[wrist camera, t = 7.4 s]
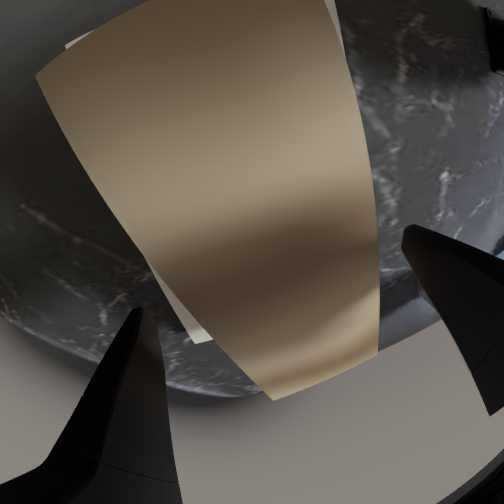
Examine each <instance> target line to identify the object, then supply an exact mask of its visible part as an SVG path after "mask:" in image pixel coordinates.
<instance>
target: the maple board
mask: <svg viewBox="0 0 504 504" xmlns="http://www.w3.org/2000/svg"><path fill="white" fill-rule="evenodd" d="M35 77H36V79H37V81H38V83H39V86H40V88H41V90H42V92H43V94H44V96H45V98H46V100H47V102H48V104H49V106H50V108H51V110H52V112H53V114H54V116H55V118H56V120H57V122H58V124H59V126H60V127H61V129H62V131H63V133H64V135H65V137H66V138H67V140H68V142H69V144H70V145H71V147H72V149H73V151H74V152H75V154H76V156H77V157H78V159H79V161H80V162H81V164H82V166H83V167H84V169H85V171H86V172H87V174H88V176H89V177H90V179H91V180H92V182H93V183H94V185H95V187H96V188H97V190H98V191H99V193H100V194H101V196H102V197H103V199H104V200H105V202H106V203H107V205H108V206H109V208H110V209H111V211H112V212H113V214H114V215H115V217H116V218H117V219H118V221H119V222H120V224H121V225H122V227H123V228H124V229H125V231H126V232H127V234H128V235H129V236H130V238H131V239H132V241H133V242H134V243H135V245H136V246H137V247H138V249H139V250H140V251H141V253H142V254H143V255H144V257H145V258H146V259H147V261H148V262H149V263H150V265H151V266H152V267H153V268H154V270H155V271H156V272H157V273H158V275H159V276H160V277H161V279H162V280H163V281H164V282H165V284H166V285H167V286H168V287H169V288H170V290H171V291H172V292H173V293H174V295H175V296H176V297H177V298H178V299H179V301H180V302H181V303H182V304H183V305H184V307H185V308H186V309H187V310H188V311H189V312H190V314H191V315H192V316H193V317H194V318H195V319H196V321H197V322H198V323H199V324H200V325H201V326H202V327H203V328H204V330H205V331H206V332H207V333H208V334H209V335H210V336H211V337H212V339H213V340H214V341H215V342H216V343H217V344H218V345H219V346H220V347H221V348H222V349H223V350H224V352H225V353H226V354H227V355H228V356H229V357H230V358H231V359H232V360H233V361H234V362H235V363H236V364H237V365H238V366H239V367H240V368H241V369H242V370H243V371H244V372H245V373H246V374H247V375H248V376H249V377H250V378H251V379H252V380H253V381H254V382H255V383H256V384H257V385H258V386H259V387H260V388H261V389H262V390H263V391H264V392H265V393H266V394H267V395H268V396H269V397H270V398H271V399H272V400H273V401H274V400H277V399H279V398H282V397H285V396H288V395H290V394H293V393H295V392H298V391H300V390H303V389H305V388H308V387H310V386H313V385H315V384H317V383H320V382H322V381H324V380H327V379H329V378H331V377H333V376H335V375H338V374H340V373H342V372H344V371H346V370H348V369H350V368H352V367H354V366H356V365H358V364H360V363H362V362H364V361H366V360H368V359H370V358H372V357H374V356H376V355H377V352H378V336H379V309H380V276H379V248H378V232H377V220H376V209H375V200H374V191H373V183H372V176H371V169H370V163H369V156H368V150H367V145H366V139H365V134H364V129H363V124H362V120H361V115H360V111H359V106H358V102H357V98H356V94H355V90H354V86H353V83H352V79H351V75H350V72H349V68H348V65H347V62H346V59H345V55H344V52H343V49H342V46H341V43H340V40H339V37H338V34H337V32H336V29H335V26H334V23H333V21H332V18H331V16H330V13H329V11H328V8H327V6H326V3H325V1H324V0H149V1H147V2H144V3H142V4H140V5H138V6H136V7H134V8H132V9H130V10H128V11H126V12H124V13H123V14H121V15H119V16H117V17H115V18H114V19H112V20H110V21H108V22H107V23H105V24H103V25H102V26H100V27H98V28H97V29H95V30H94V31H92V32H91V33H89V34H88V35H86V36H85V37H83V38H82V39H80V40H79V41H77V42H76V43H74V44H73V45H72V46H70V47H69V48H68V49H66V50H65V51H64V52H62V53H61V54H60V55H58V56H57V57H56V58H55V59H53V60H52V61H51V62H50V63H49V64H47V65H46V66H45V67H44V68H43V69H41V70H40V71H39V72H38V73H37V74H36V75H35Z"/></svg>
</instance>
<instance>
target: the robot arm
mask: <svg viewBox="0 0 504 504" xmlns="http://www.w3.org/2000/svg"><path fill="white" fill-rule="evenodd" d="M484 13H485V18H486V24H487V29H488V36H489V43H490V51H491V62H492V69H493V71H494V72H495V73H498V74H500V75H503V76H504V18H503V17H502V16H500V15H499V14H497V13H496V12H494V11H493V10H491V9H490V8H487V7H484ZM401 249H402V252H403V254H404V255H405V257H406V259H407V261H408V262H409V264H410V266H411V268H412V270H413V271H414V273H415V275H416V277H417V279H418V281H419V282H420V284H421V286H422V287H423V289H424V291H425V292H426V294H427V295H428V297H429V298H430V300H431V302H432V303H433V305H434V306H435V308H436V310H437V311H438V313H439V315H440V316H441V318H442V320H443V321H444V323H445V325H446V327H447V328H448V330H449V332H450V334H451V335H452V337H453V339H454V341H455V343H456V345H457V347H458V348H459V350H460V352H461V354H462V356H463V358H464V360H465V362H466V364H467V366H468V368H469V370H470V372H471V375H472V377H473V379H474V381H475V383H476V385H477V388H478V390H479V392H480V395H481V397H482V399H483V402H484V404H485V407H486V409H487V412H488V414H489V415H490V416H491V415H493V414H494V413H496V412H497V411H498V410H500V409H501V408H502V407H504V260H502V259H500V258H498V257H495V256H493V255H491V254H489V253H487V252H484V251H482V250H480V249H477V248H475V247H473V246H470V245H468V244H465V243H463V242H460V241H458V240H455V239H453V238H450V237H448V236H445V235H443V234H440V233H437V232H435V231H432V230H429V229H426V228H424V227H421V226H418V225H415V224H413V225H409V226H407V227H405V228H404V231H403V237H402V243H401ZM83 395H84V396H82V397H81V399H80V401H79V403H78V405H77V407H76V408H75V410H74V412H73V414H72V416H71V418H70V419H69V421H68V423H67V424H66V426H65V428H64V430H63V431H62V433H61V435H60V436H59V438H58V440H57V441H56V443H55V445H54V447H53V449H52V450H51V452H50V454H49V455H48V457H47V458H46V460H45V461H44V462H43V463H42V464H41V465H40V466H38V467H37V468H35V469H33V470H31V471H29V472H27V473H25V474H23V475H20V476H18V477H16V478H14V479H12V480H9V481H7V482H5V483H3V484H0V504H183V502H182V498H181V492H180V487H179V484H178V477H177V472H176V466H175V460H174V454H173V447H172V439H171V432H170V424H169V414H168V405H167V394H166V381H165V369H164V362H163V357H162V351H161V345H160V338H159V331H158V326H157V323H156V321H155V320H154V318H153V317H152V315H151V314H150V312H149V311H148V309H147V308H146V307H145V306H141V307H137V308H134V309H132V311H131V312H130V314H129V315H128V317H127V318H126V320H125V322H124V323H123V325H122V327H121V328H120V330H119V331H118V333H117V335H116V336H115V338H114V340H113V341H112V343H111V345H110V347H109V348H108V350H107V352H106V353H105V355H104V357H103V359H102V360H101V362H100V364H99V366H98V367H97V369H96V371H95V373H94V375H93V377H92V378H91V380H90V382H89V384H88V386H87V388H86V389H85V391H84V393H83ZM437 504H504V449H503V450H502V451H501V452H500V453H499V454H498V455H497V456H496V457H495V458H494V459H493V460H492V461H491V462H490V463H488V464H487V465H486V466H485V467H484V468H483V469H482V470H480V471H479V472H478V473H477V474H476V475H475V476H473V477H472V478H471V479H470V480H468V481H467V482H466V483H465V484H463V485H462V486H461V487H459V488H458V489H457V490H456V491H454V492H453V493H451V494H450V495H449V496H447V497H446V498H444V499H443V500H441V501H440V502H438V503H437Z"/></svg>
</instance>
